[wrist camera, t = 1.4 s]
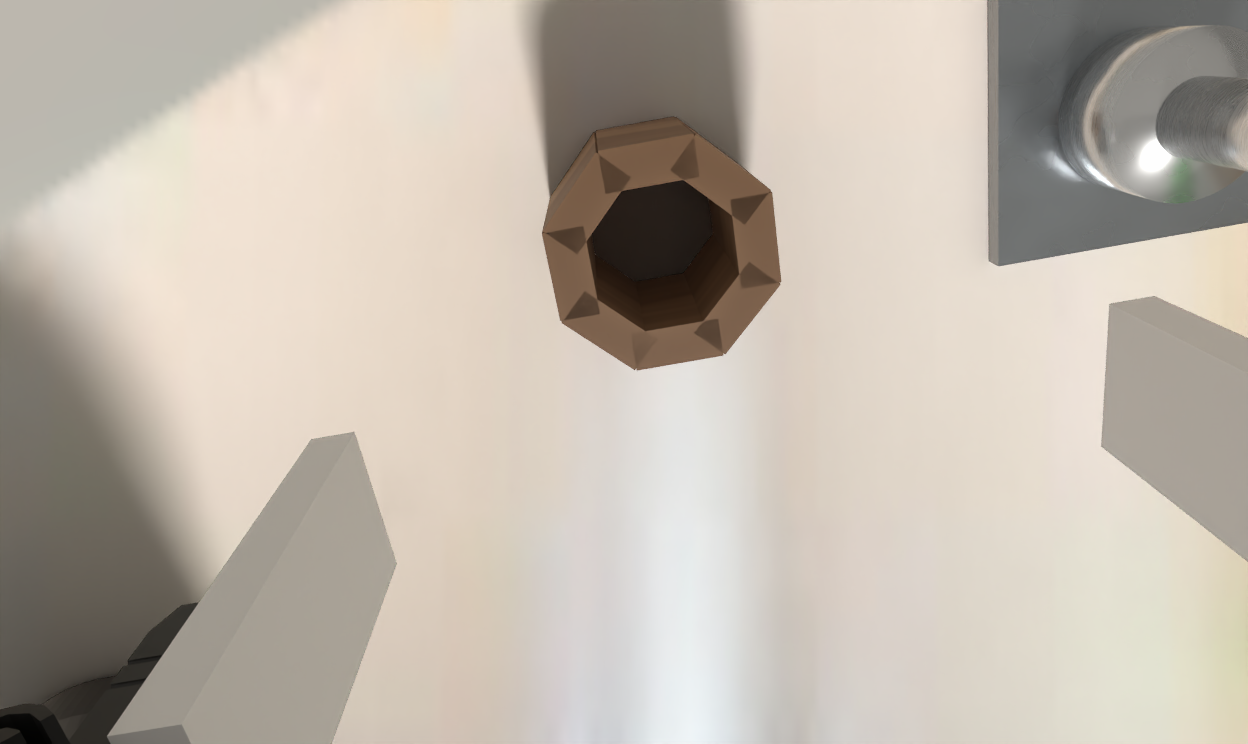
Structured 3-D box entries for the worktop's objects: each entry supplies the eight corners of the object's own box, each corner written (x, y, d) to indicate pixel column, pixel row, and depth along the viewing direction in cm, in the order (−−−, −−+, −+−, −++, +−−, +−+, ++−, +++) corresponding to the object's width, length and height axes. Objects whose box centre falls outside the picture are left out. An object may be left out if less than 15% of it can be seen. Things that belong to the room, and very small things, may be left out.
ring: (575, 324, 33) (573, 381, 28) (538, 141, 30) (527, 163, 25) (753, 292, 33) (787, 344, 27) (731, 105, 30) (764, 120, 25)
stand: (988, 261, 33) (1182, 366, 22) (987, -13, 29) (1219, -44, 18) (1241, 216, 33) (1560, 302, 22) (1272, -66, 29) (1675, -128, 18)
